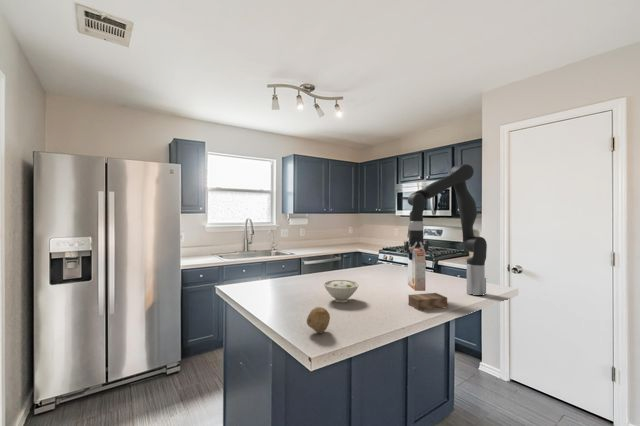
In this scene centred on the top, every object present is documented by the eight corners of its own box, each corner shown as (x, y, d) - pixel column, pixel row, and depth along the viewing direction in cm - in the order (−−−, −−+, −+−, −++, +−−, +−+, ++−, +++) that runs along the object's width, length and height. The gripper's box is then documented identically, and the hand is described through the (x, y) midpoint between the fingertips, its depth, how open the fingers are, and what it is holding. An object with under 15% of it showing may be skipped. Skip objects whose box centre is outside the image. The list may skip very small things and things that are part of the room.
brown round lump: (304, 336, 112) (304, 310, 112) (309, 327, 121) (309, 303, 121) (328, 338, 111) (328, 311, 111) (331, 329, 120) (331, 304, 120)
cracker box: (426, 291, 158) (426, 251, 157) (414, 291, 158) (414, 251, 158) (418, 284, 172) (417, 248, 171) (407, 284, 172) (407, 248, 172)
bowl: (358, 295, 168) (358, 278, 168) (359, 306, 149) (359, 286, 149) (324, 294, 170) (324, 277, 170) (321, 305, 151) (321, 285, 151)
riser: (436, 302, 156) (436, 292, 156) (447, 307, 147) (447, 297, 147) (408, 304, 152) (408, 294, 152) (418, 310, 143) (418, 299, 143)
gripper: (423, 228, 170) (424, 257, 170) (401, 229, 166) (401, 259, 166) (431, 229, 163) (432, 259, 163) (408, 230, 159) (408, 261, 159)
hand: (416, 259), depth 165 cm, fingers closed on cracker box, 6 cm apart
